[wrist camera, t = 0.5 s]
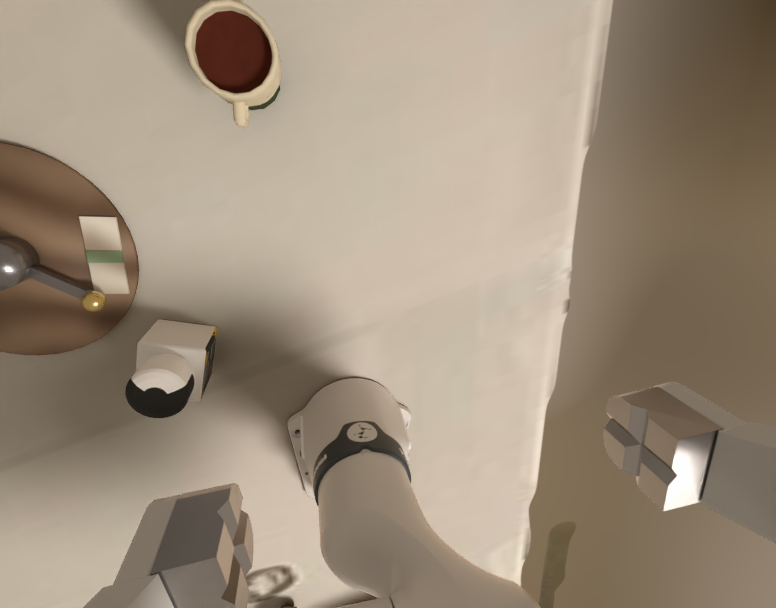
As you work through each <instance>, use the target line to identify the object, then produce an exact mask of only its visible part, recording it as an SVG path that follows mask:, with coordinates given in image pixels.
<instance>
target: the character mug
mask: <svg viewBox="0 0 776 608" xmlns="http://www.w3.org/2000/svg"><path fill="white" fill-rule="evenodd" d="M184 46H185V49H186V53H187V56H188V60H189V64H190V66H191V67H192V69H193V70H194V72H195V73H196V75H197V76H198V78H199V79H200V80H201V82H202V83H203V84H204V85H205V86H206V87H208V88H209V89H210V90H212V91H213V92H214V93H216V94H217V95H218V96H220V97H221V98H222V99H224V100H225V101H227V102H228V103H231V104H233V117H234V121H235V123H236V125H237V126H239V127H242V128H246V127H248V124H249V109H250V110H256V109H264V108H266V107H267V106H268V105H270V104H271V103H272V102H274V101H275V99H276V97H277V95H278V93H279V90H280V85H279V83H280V79H281V60H280V56H279V52H278V48H277V44H276V40H275V38H274V35H273V33H272V32H271V30H270V28H269V27H268V25H267V24H266V22H265V20H264V19H263V18H262V17H261V16H260V15H259V14H257V13H256V12H255V11H254V10H253V9H252V8H250V7H249V6H248V5H246V4H243V0H209V1H208V2H206V3H205V4H203V5H202V6H200V7H198V8H197V9H196V10H195V11H194V13H193V15H192V16H191V18H190V20H189V22H188V23H187V25H186V33H185V43H184Z"/></svg>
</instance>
